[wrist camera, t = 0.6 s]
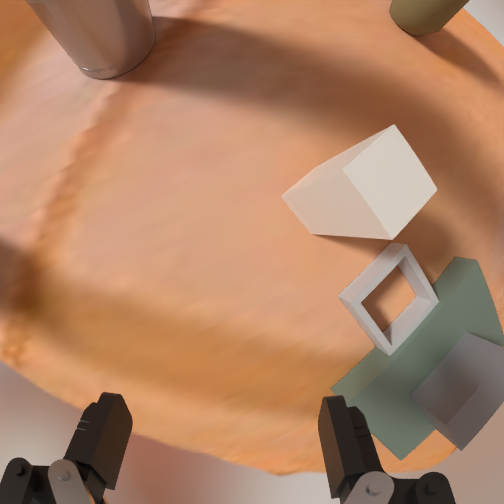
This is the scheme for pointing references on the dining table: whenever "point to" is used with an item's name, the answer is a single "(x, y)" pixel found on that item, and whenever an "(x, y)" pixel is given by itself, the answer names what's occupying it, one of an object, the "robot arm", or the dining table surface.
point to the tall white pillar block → (363, 189)
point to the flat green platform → (427, 355)
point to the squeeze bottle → (424, 14)
